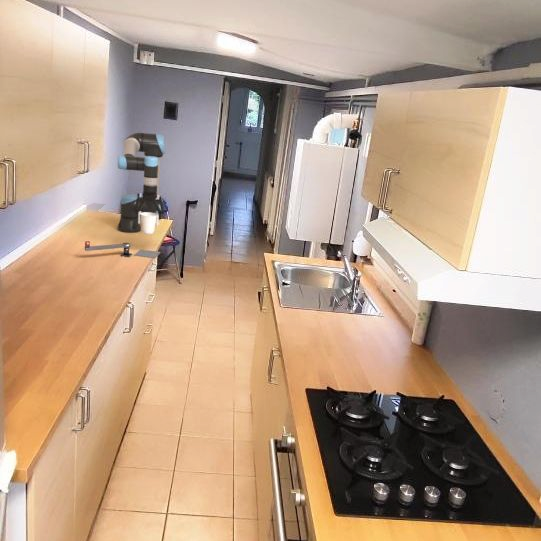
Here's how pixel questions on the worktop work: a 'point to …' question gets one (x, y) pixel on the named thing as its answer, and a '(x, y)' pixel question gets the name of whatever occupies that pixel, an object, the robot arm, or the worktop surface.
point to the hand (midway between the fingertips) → (148, 224)
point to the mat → (147, 253)
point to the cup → (148, 222)
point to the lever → (105, 246)
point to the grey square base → (126, 253)
